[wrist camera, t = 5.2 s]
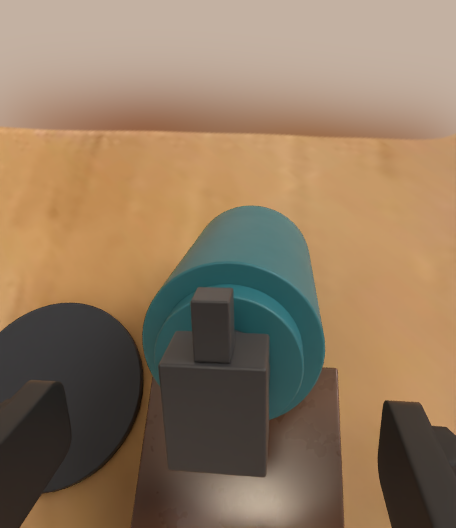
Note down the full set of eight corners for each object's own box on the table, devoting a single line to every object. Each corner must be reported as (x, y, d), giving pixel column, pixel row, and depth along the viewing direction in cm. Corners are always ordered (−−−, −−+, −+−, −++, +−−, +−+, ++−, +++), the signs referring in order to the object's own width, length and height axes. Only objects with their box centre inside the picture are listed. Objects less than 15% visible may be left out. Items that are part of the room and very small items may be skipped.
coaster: (-62, 383, 23) (-68, 382, 23) (82, 274, 25) (79, 270, 25) (18, 541, 20) (11, 543, 19) (180, 397, 22) (177, 396, 21)
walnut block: (172, 376, 22) (154, 359, 19) (329, 383, 21) (337, 367, 18) (149, 560, 19) (122, 577, 16) (335, 580, 18) (347, 603, 14)
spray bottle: (205, 245, 25) (141, 50, 14) (306, 246, 25) (331, 40, 13) (181, 470, 20) (44, 461, 8) (309, 479, 19) (356, 485, 8)
